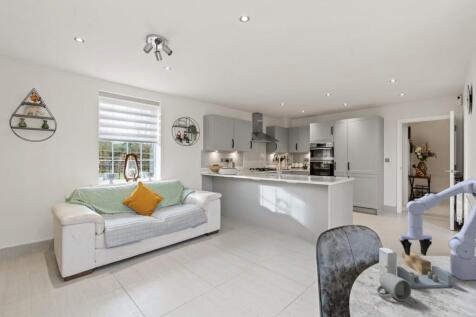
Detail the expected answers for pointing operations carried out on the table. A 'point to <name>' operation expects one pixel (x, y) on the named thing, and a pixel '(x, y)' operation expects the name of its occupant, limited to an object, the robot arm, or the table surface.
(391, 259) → the skincare box
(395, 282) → the ceramic mug
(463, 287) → the table surface
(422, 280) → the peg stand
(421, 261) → the oak plank
